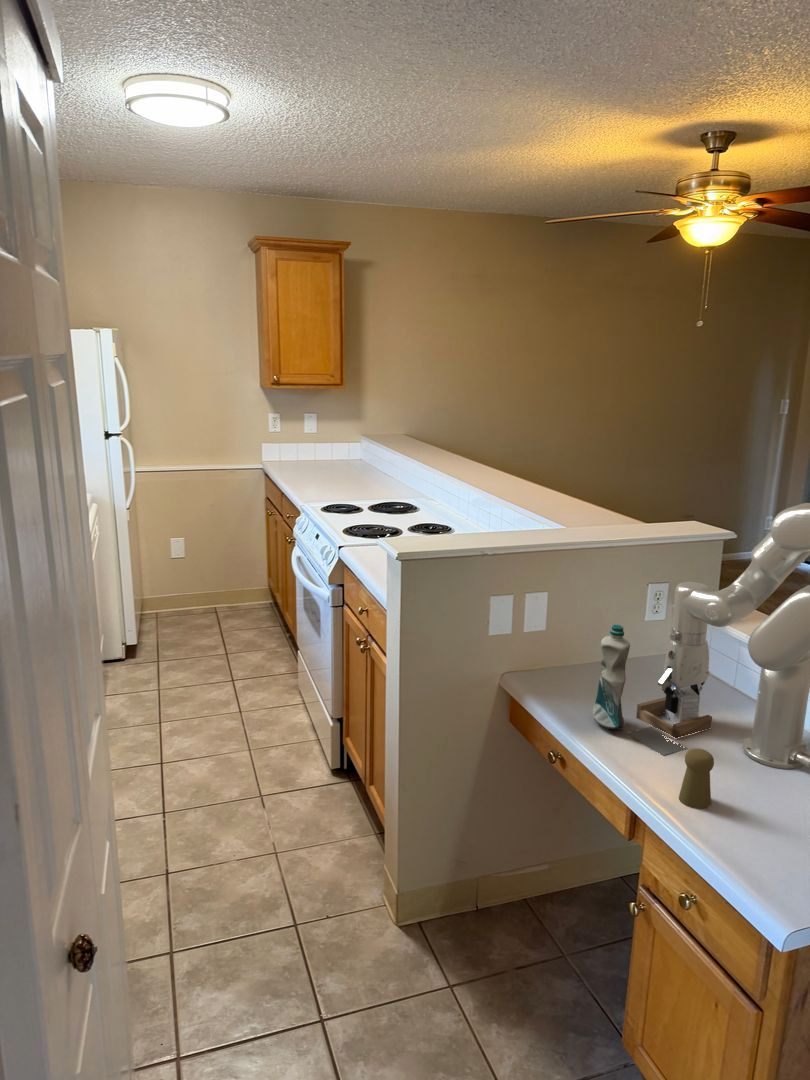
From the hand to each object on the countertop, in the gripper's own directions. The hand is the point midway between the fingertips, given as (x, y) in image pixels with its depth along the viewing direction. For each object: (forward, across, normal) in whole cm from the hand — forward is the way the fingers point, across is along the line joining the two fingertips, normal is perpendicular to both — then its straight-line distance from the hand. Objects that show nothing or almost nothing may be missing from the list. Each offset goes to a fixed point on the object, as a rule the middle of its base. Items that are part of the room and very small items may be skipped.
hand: (681, 707), depth 177 cm
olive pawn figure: (+4, -23, -26) cm, 35 cm away
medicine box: (+4, 0, 0) cm, 4 cm away
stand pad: (+4, -12, -5) cm, 14 cm away
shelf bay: (+4, 0, 0) cm, 4 cm away
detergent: (+4, -17, +6) cm, 18 cm away
